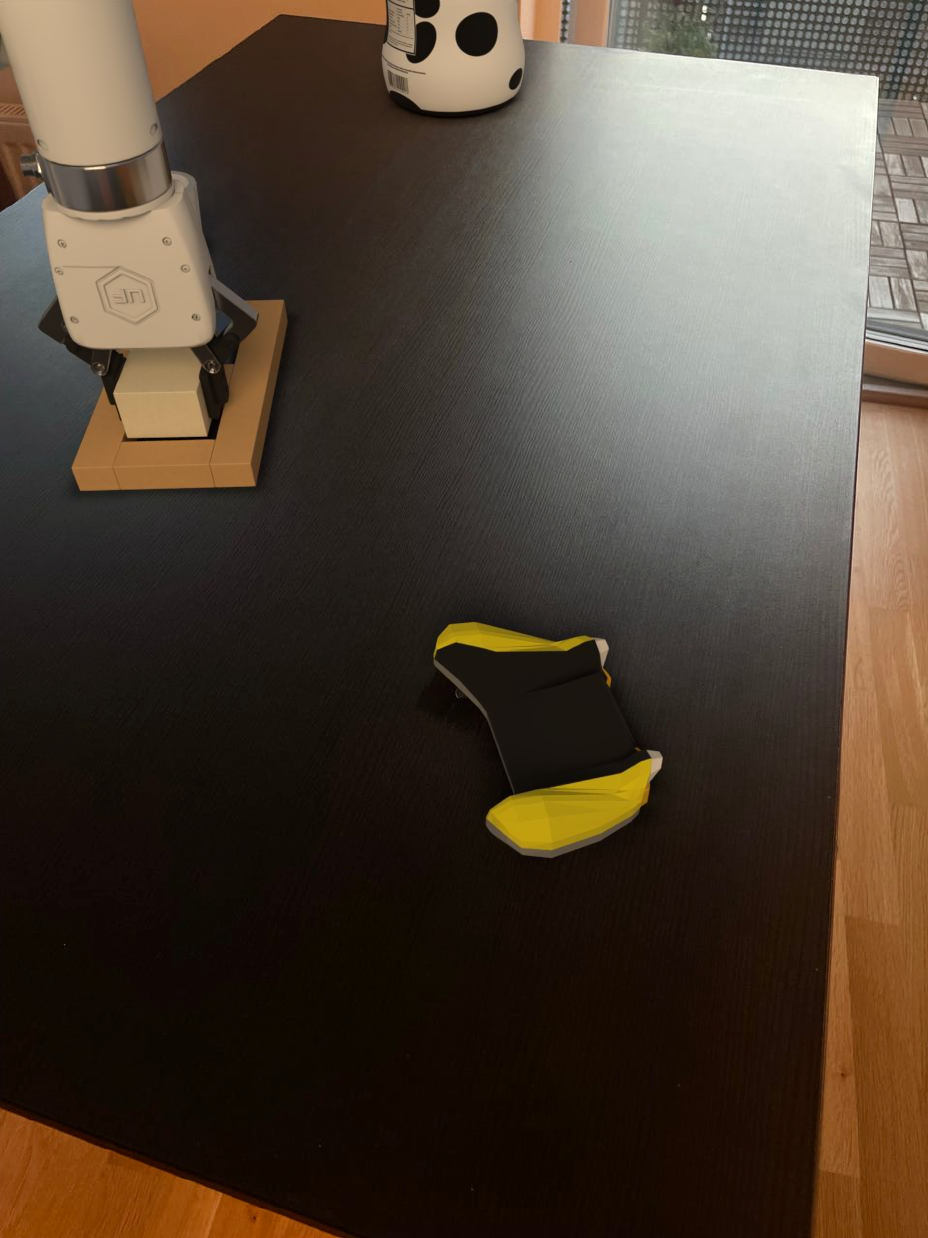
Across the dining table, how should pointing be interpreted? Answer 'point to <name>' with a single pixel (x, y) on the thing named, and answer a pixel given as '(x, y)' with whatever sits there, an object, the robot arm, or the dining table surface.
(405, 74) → the milk container
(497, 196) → the dining table surface
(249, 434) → the frame
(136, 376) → the cream block
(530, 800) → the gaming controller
